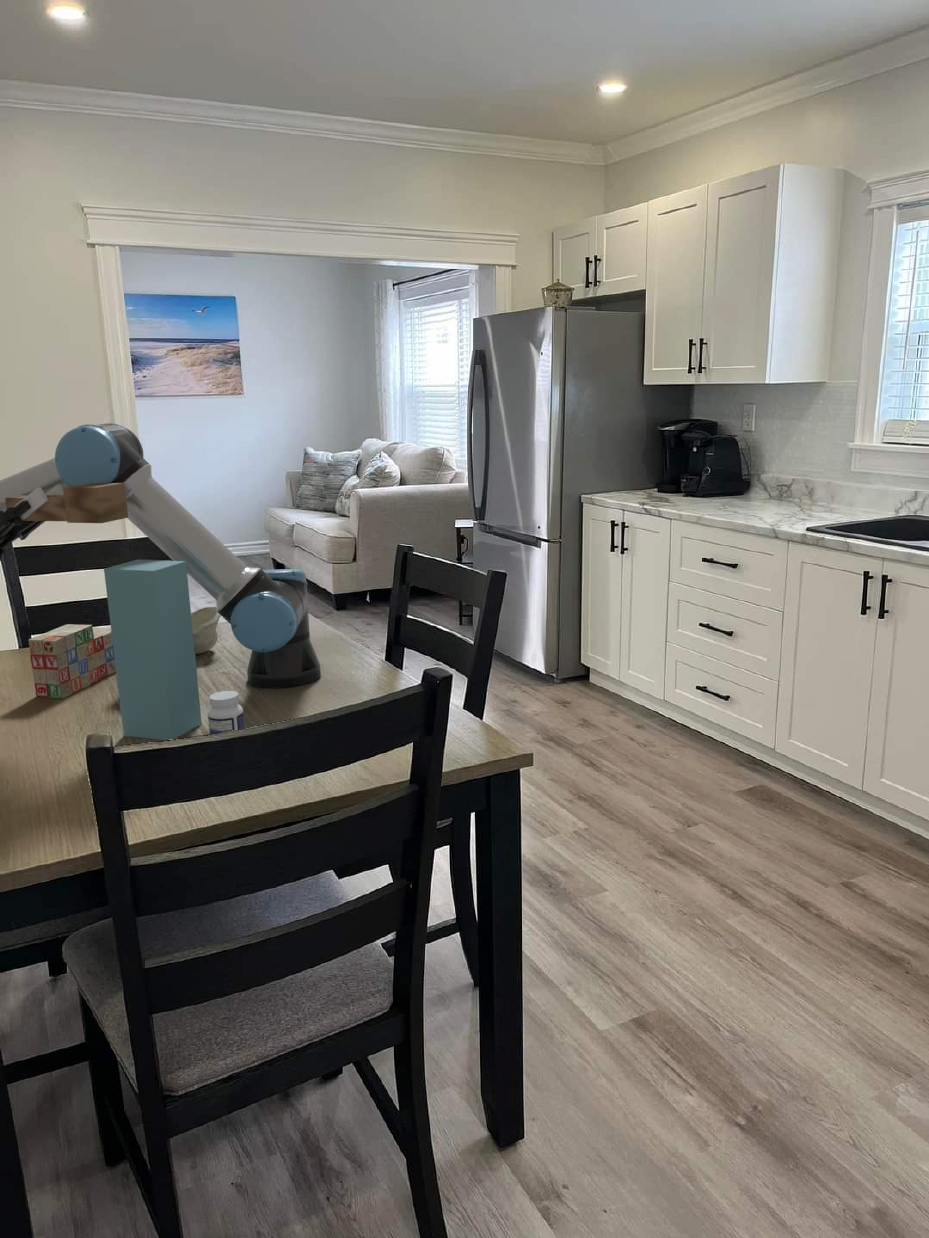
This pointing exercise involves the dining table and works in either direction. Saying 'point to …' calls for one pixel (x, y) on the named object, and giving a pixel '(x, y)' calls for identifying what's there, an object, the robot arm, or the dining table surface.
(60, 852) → the dining table surface
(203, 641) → the bowl
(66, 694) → the stack of blocks
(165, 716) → the stand
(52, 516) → the brown wooden block
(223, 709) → the pill bottle
